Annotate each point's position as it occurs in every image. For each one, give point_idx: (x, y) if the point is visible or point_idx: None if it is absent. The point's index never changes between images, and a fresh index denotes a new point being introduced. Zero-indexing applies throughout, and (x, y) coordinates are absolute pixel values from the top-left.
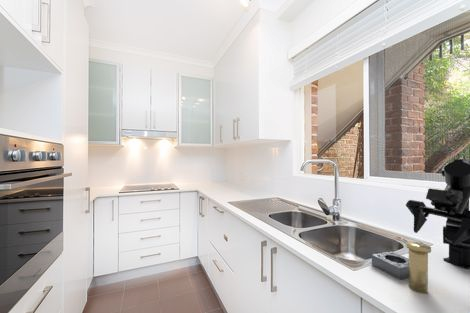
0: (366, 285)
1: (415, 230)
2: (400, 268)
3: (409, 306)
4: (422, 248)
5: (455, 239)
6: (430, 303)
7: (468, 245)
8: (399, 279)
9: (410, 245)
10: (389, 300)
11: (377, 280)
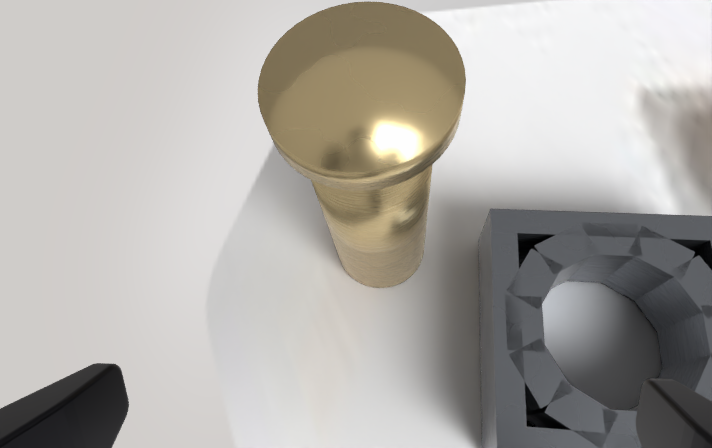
0: (492, 46)
1: (650, 390)
2: (490, 218)
3: None
4: (293, 36)
5: (56, 389)
6: (289, 181)
7: None
8: (479, 239)
9: (381, 8)
10: None
11: (514, 128)
